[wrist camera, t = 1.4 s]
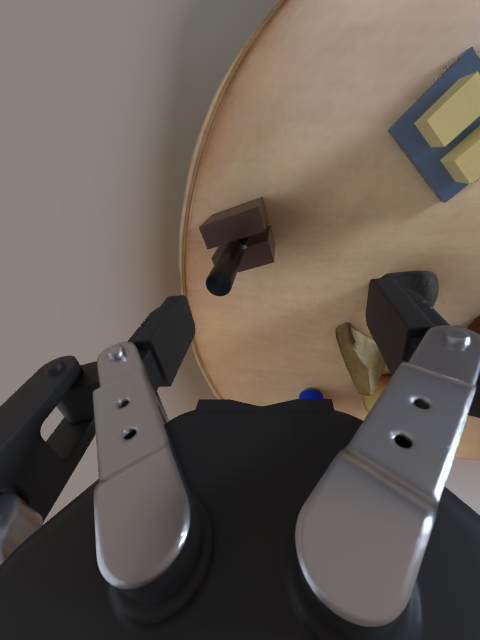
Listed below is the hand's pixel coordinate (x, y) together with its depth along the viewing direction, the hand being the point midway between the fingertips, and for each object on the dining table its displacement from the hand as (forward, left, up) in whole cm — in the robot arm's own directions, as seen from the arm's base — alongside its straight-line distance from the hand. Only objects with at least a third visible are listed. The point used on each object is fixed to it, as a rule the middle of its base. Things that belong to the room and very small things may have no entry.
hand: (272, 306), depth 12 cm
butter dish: (-3, +21, -31) cm, 38 cm away
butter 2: (-1, +23, -30) cm, 38 cm away
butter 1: (-5, +20, -30) cm, 36 cm away
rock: (+27, +11, -31) cm, 43 cm away
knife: (+3, -6, -31) cm, 32 cm away
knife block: (+3, -6, -31) cm, 32 cm away
